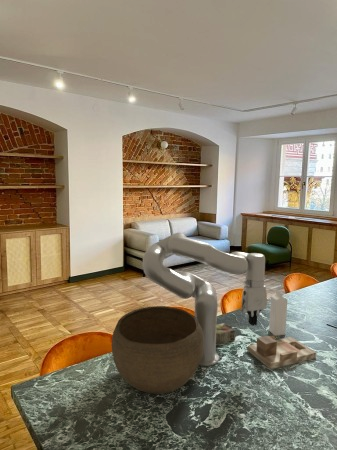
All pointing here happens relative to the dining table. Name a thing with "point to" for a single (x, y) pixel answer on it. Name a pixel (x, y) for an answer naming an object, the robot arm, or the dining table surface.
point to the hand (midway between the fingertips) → (252, 324)
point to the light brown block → (266, 346)
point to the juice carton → (224, 333)
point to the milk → (278, 314)
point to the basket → (157, 348)
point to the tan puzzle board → (284, 353)
